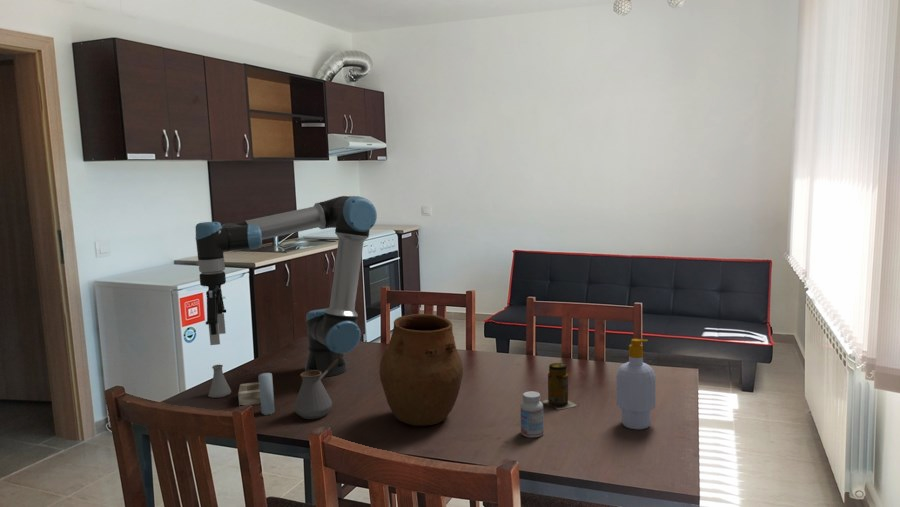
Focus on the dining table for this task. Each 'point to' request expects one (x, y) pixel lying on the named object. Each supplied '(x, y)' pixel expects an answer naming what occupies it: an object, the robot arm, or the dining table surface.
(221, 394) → the flask
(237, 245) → the robot arm
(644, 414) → the soap bottle
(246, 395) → the socket block
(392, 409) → the pot
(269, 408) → the peg
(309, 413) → the coffee pot
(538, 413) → the pill bottle
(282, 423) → the dining table surface
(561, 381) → the condiment
